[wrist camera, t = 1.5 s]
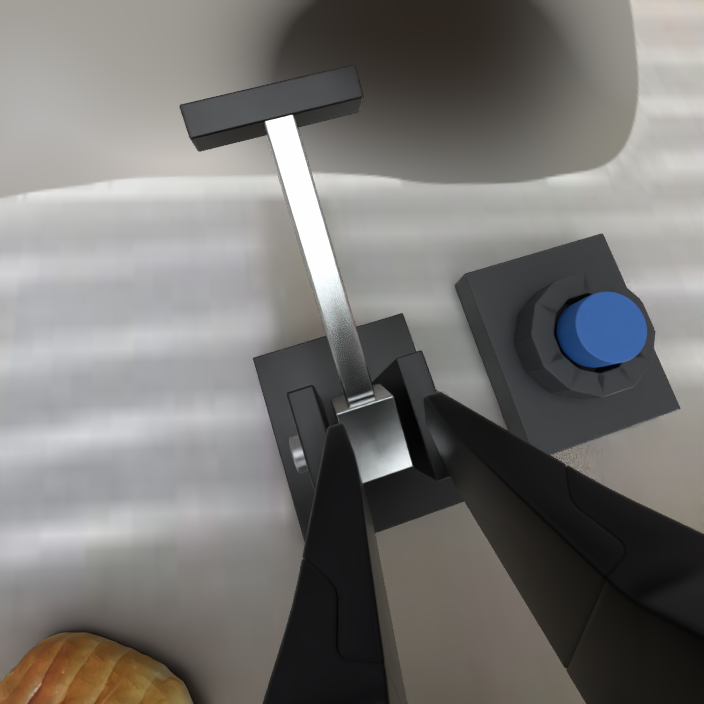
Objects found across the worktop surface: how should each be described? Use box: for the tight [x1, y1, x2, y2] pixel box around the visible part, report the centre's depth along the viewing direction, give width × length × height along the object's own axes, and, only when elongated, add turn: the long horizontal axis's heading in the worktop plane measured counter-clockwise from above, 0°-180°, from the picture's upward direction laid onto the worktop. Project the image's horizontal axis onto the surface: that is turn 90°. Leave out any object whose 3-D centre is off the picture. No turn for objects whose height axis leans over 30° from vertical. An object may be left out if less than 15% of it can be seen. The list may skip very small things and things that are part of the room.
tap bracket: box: [253, 313, 464, 541], centre depth 18 cm, size 11×9×10 cm
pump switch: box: [455, 234, 680, 455], centre depth 22 cm, size 11×9×4 cm
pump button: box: [556, 291, 647, 368], centre depth 20 cm, size 4×4×2 cm
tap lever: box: [180, 65, 414, 483], centre depth 14 cm, size 14×6×2 cm, turn 18°
